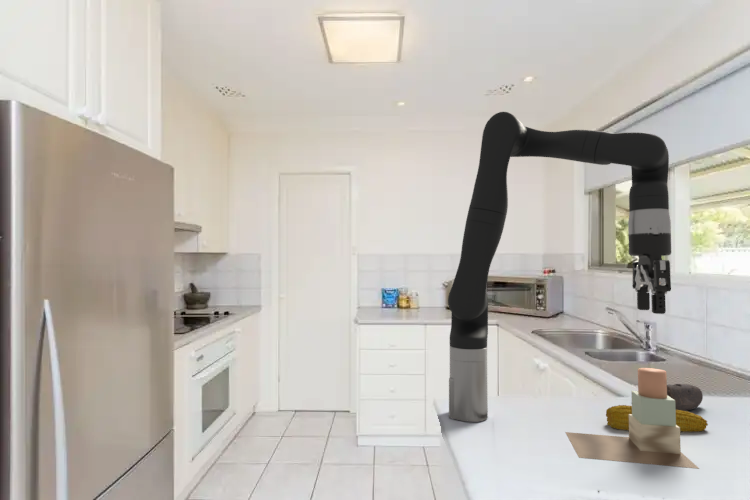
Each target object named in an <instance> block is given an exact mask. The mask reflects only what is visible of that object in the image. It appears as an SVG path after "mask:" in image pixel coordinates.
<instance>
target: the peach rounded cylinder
mask: <svg viewBox="0 0 750 500" xmlns="http://www.w3.org/2000/svg"><path fill="white" fill-rule="evenodd" d="M667 376H668V375H667V371H666V370H664V369H661V368H660V369H659V368H651V367H640V368H637V391H638V394H639V395H641V396H644V397H648V398H655V399H664V398H667V385H668V383H667V382H668V381H667V380H668V379H667Z"/></svg>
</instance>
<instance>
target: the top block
mask: <svg viewBox="0 0 750 500" xmlns="http://www.w3.org/2000/svg"><path fill="white" fill-rule="evenodd" d="M631 406H632V415H633V416H634V417H635V418H636V419H637V420H638V421H639V422H640V423H641V424H648V425H662V426H675V427H676V409H675V400H674V399H672V398H671V397H669V396H668V395H667V398H664V399H655V398H648V397H644V396H641V395H639V394H638V390H631Z"/></svg>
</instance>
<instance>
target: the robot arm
mask: <svg viewBox="0 0 750 500" xmlns="http://www.w3.org/2000/svg"><path fill="white" fill-rule="evenodd" d="M669 154H670V153H669V149H668V147H667V145H666V143H665V140H663V139H662V138H661V137H660V136H658V135H656V134H653V133H647V132H616V133H615V132H609V131H602V130H601V131H600V130H599V131H598V130H589V129H570V130H569V129H568V130H560V131H544V130H541V129H540V130H539V129H536V128H531V127H527V126H525V125H524V123H522V122H521V121H520V119H518V118H517V117H516V115H514V114H512V113H510V112H508V111H499V112H497V113H495V114H493V115H492V116H490V118H489V119H488V120H487V122H486V124H485V126H484V128H483V132H482V135H481V144H480V154H479V155H480V156H479V160H478V161H479V163H478V168H477V172H476V173H477V174H476V177H475V182H474V186H473V191H472V195H471V200H470V203H469V207H468V211H467V216H466V221H465V226H464V230H463V238H462V243H461V244H462V245H461V253H460V258H459V263H458V267H457V270H456V274H455V276H454V279H453V282H452V285H451V288H450V291H449V293H448V297H447V305H448V308H449V311H450V312H451V317H450V318H451V321H450V322H451V323H450V324H451V326H450V332H449V378H448V419H454V420H456V421H457V420H458V421H461V422H469V423H477V422H483V421H486V420H487V419H488V411H489V407H488V406H489V405H488V334H489V300H488V299H489V298H488V295H487V288H488V287H487V286H488V285H487V284H488V280H489V279H488V277H489V272H490V268H491V264H492V262H493V259H494V256H495V254H496V251H497V249H498V246H499V245H500V241H501V238H502V236H503V232H504V228H505V222H506V218H507V214H508V207H509V196H508V179H507V178H508V167H509V163H510V159H511V158H513V157H514V158H527V157H529V158H530V157H536V158H550V159H551V158H552V159H558V160H559V159H560V160H567V161H573V162H578V163H579V162H580V163H585V164H586V163H587V164H592V165H593V164H595V165H600V166H603V165H604V166H609V165H611V164H616V165H622V166H628V167H630V168H631V186H630V188H629V191H628V192H629V193H628V195H629V196H628V198H629V199H628V201H629V205H628V207H629V209H628V212H629V213H628V214H629V215H628V222H627V223H628V224H627V227H628V228H627V229H628V232H627V234H628V235H627V237H628V238H627V239H628V255H629V256H632V257H638V260H637V261H632V265H631V266H632V289H634V290H635V292H636V303H637V305H636V308H637V310H639V311H648V310H650V309H651V312H652V313H653V314H657V315H664V314H666V311H667V310H666V309H667V308H666V295H667V294H668V292H671V290H672V282H671V262H670V260H669V259H663V258H662V257H664V256H665V257H667V256H670V255H671V254H672V230H671V229H672V225H671V218H670V210H669V209H670V207H669V206H670V205H669V204H670V202H669V200H670V198H669V189H668V180H669V179H668V177H669V168H670V167H669V164H670V163H669V162H670V159H669V157H670V155H669ZM650 294H651V296H650ZM650 297H651V299H650ZM650 300H651V301H650ZM650 304H651V305H650ZM650 306H651V307H650Z"/></svg>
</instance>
